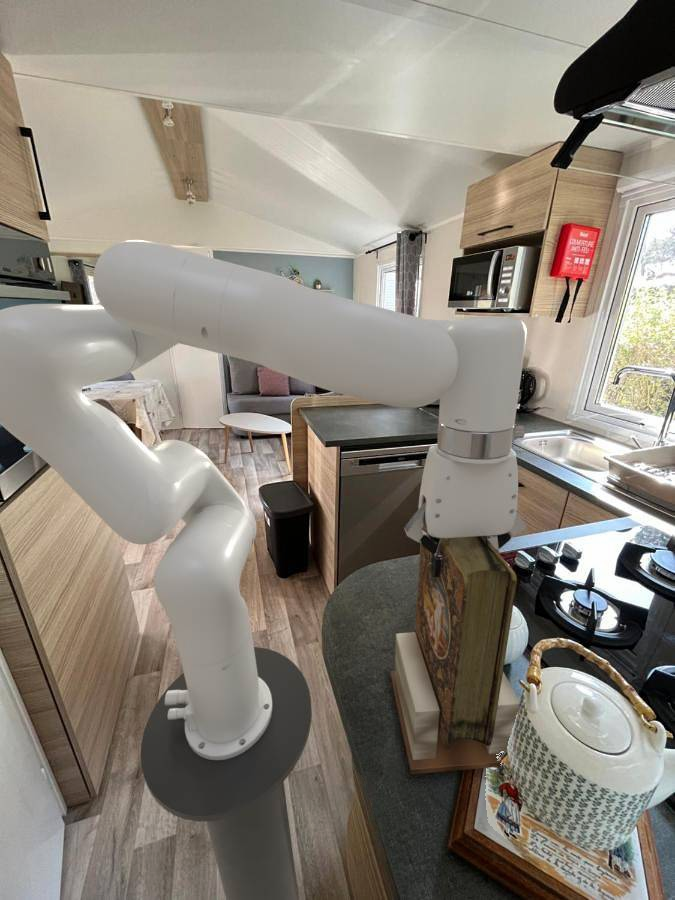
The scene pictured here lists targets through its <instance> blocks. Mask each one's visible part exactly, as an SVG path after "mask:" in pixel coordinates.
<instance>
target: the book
mask: <svg viewBox="0 0 675 900" xmlns="http://www.w3.org/2000/svg"><path fill="white" fill-rule="evenodd" d="M422 530H423V531H426V532H427V525H426V524H425V526H424V527H423V528H422ZM438 539H439V538H438ZM419 544H420V545H419V557H418V559H419V561H418V575H417V589H416V590H417V591H416V606H415V607H416V608H415V623H414V632H415V633H416V636H417V639H418V642H419V645H420V648H421V652H422V655H423V658H424V661H425V664H426V668H427V671H428V674H429V677H430V680H431V684H432V687H433V690H434V693H435V696H436V700H437V703H438V706H439V709H440V713H439V725H438V731H439V734H440V737H441V740H442V743H443V746H444V748H445V749H449V748H450V744H451V743H452V742H453V741H455V740H459V739H470V740H474V741H478V742H480V743H483V744H485V745H486V746H490V745H491V743H492V739H493V733H494V727H495V720H496V714H497V707H498V701H499V694H500V688H501V681H502V675H503V672H504V667H505V662H506V655H507V648H508V643H509V635H510V629H511V623H512V618H513V617H512V616H513V610H514V603H515V598H516V597H515V596H516V591H517V583H518V579H517V574H516V572H515V570H513V568H512V567H511V566H510V565H509V563H508V562H507V561H506V560H505V559H504V557H503V556H502V555H501V554H500V552H499V553H498V552H497V550H496V549H495V548H494V547H493V546H492V544H488V545H487V544H486V539H485V536H473V537H455V538H451V540H450V543H449V546H445V549H444V553H443V557H444V559H442V560H441V570H440V577H433V575H432V573H431V557H432V553H431V552H430V551H428V550H427V549H426V548H425V547H424V546H423V545H422V544H421V543H419ZM443 560H444V564H443Z"/></svg>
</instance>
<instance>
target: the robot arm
mask: <svg viewBox="0 0 675 900" xmlns="http://www.w3.org/2000/svg"><path fill="white" fill-rule="evenodd" d="M92 276H93V288H94V292H95V295H96V298H97V299H98V301H99V302H98V303H95V304H74V303H73V304H70V303H29V304H19V305H14V306H9V307H5V308H2V309H0V425H1V426H2V427H3V428H4V429H5V431H8V432H9V433H10V434H11V435H12V436H14V437H15V438H16V439H17V440H18V441H20V442H21V443H23V444H24V445H25V446H26V447H28V448H29V449H30V450H32V451H33V452H34V453H35V454H37V456H39V457H40V458H41V459H42V460H44V462H46V464H48V465H49V466H50V467H51V468H52V469H53V470H54V471H55V472H56V473H57V474H58V476H59V477H60V478H61V479H62V480H63V481H64V482H65V483H66V484H67V485H68V487H70V488H71V489H72V490H73V492H74V493H75V494H77V495H78V497H80V499H82V500H83V501H84V503H86V505H87V506H88V507H89V508H90V509H91V510H92V511H93V512H94V513H95V514H96V515H97V516H98V517H99V518H100V519H101V520H102V521H103V522H104V523H105V524H106V525H107V526H108V527H109V528H110V529H111V530H112V531H113V532H114V533H115V534H117V535H118V536H119V537H121V538H122V539H124V541H127V542H129V543H131V544H135V545H148V544H152V543H156V542H157V541H158V540H160V539H162V538H163V537H165V536H166V535H167V534H168V533H169V532H170V531H172V530H173V529H174V527H176V525H178V523H179V522H180V521H181V520H182V522H184V523H185V526H184V527H183V528H181V530H180V531H179V533H178V534H177V535H176V536H175V538H174V539H173V540H172V541H171V543H170V544H169V546H168V547H167V548H166V550H165V551H164V552H163V555H162V556H161V558H160V559H159V563H158V565H157V567H156V570H155V574H154V580H153V586H154V590H155V595H156V597H157V600H158V601H159V604H160V605H161V607H162V608H163V611H164V612H165V614H166V616H167V618H168V620H169V623H170V626H171V628H172V632H173V635H174V640H175V643H176V647H177V652H178V655H179V660H180V663H181V667H182V672H183V673H184V676H185V680H186V685H187V689H188V690H169V691H167V693H166V696H165V705H166V706H169V705H179V704H186V705H187V706H186V707H185V708H170V709H169V711H168V720H174V719H180V718H184V720H185V734H186V738H187V741H188V743H189V746H190V747H191V748H192V750H193V751H194V752H195V753H196V754H198V755H199V756H200V757H203V758H206V759H209V760H225V759H229V758H233V757H235V756H237V755H239V754H241V753H243V752H245V751H246V750H248V749H249V748H250V747H252V746H253V745H254V744H255V743H256V742H257V741H258V740H259V739H260V737H261V736H262V735H263V733H264V732H265V730H266V728H267V726H268V724H269V721H270V718H271V714H272V697H271V693H270V690H269V688H268V686H267V685H266V683H265V682H264V681H263V680H262V679H261V678H259V677H258V673H257V666H256V659H255V652H254V647H255V646H254V645H255V644H254V638H253V632H252V625H251V620H250V614H249V613H250V612H249V608H248V605H247V603H246V601H245V599H244V598H243V596H242V594H241V591H240V583H241V578H242V577H241V576H242V573H243V571H244V568H245V566H246V563H247V560H248V558H249V556H250V553H251V551H252V548H253V545H254V543H255V540H256V537H257V531H258V526H257V521H256V517H255V515H254V513H253V511H252V509H251V508H250V507H249V505H248V504H247V503H246V501H245V500H244V499H243V497H242V496H241V495H240V493H238V491H236V489H235V488H234V486H232V484H231V482H230V481H228V479H227V478H226V477H225V475H224V474H223V473H222V472H221V471H220V469H218V467H217V466H216V464H215V463H214V461H212V460H211V459H210V458H209V457H208V456H207V455H206V453H204V452H203V451H202V450H201V449H199V448H198V447H196V446H195V445H192V444H191V443H189V442H186V441H183V440H178V439H165V440H161V441H157V442H155V443H153V444H151V445H149V446H147V445H145V444H144V443H143V442H142V441H141V439H140V438H139V437H138V436H137V435H136V434H135V433H134V432H133V430H131V428H130V427H129V426H128V424H126V422H125V421H124V420H123V419H121V417H119V416H118V415H117V414H116V413H115V412H113V411H111V410H110V409H108V408H107V407H105V406H103V405H101V404H100V403H98V402H97V401H95V400H92V399H90V398H89V397H88V396H86V395H85V394H84V392H83V389H84V387H86V386H90V385H94V384H100V383H102V382H105V381H109V380H112V379H116V378H120V377H123V376H125V375H128V374H130V373H132V372H134V371H137V370H138V369H139V368H141V367H143V366H145V365H146V364H148V363H150V362H151V361H152V360H154V359H156V358H157V357H159V356H161V355H162V354H164V353H165V352H167V351H169V350H170V349H172V348H173V347H175V346H176V345H179V344H181V345H184V346H187V347H188V346H189V347H193V348H197V349H200V350H204V351H209V352H213V353H217V354H220V355H224V356H228V357H231V358H236V359H240V360H243V361H247V362H250V363H255V364H257V365H260V366H262V367H265V368H267V369H268V370H270V371H273V372H275V373H280V374H281V375H285V376H287V377H290V378H293V379H295V380H298V381H301V382H303V383H305V384H308V385H311V386H314V387H317V388H320V389H324V390H327V391H329V392H332V393H337V394H341V395H343V396H347V397H352V398H356V399H360V400H364V401H367V402H372V403H376V404H380V405H384V406H389V407H393V408H399V409H400V408H401V409H417V408H421V407H426V406H428V405H430V404H433V403H435V402H437V401H438V400H439V411H438V425H437V426H438V427H437V441H436V445H431V446H430V447H429V448H428V452H427V454H426V458H425V462H424V466H423V470H422V471H423V472H422V477H421V483H420V488H419V497H418V506H417V507H418V508H417V511H416V512H415V513H414V514H413V516H412V517H411V518H410V519H409V521H408V522H407V523H406V524H405V526H404V527H403V530H404V532H405V535H406V537H408V538H409V539H411V540H413V541H415V542H416V543H419V544H420V543H421V544H422V545H423V546H424V547H425V548H426V549H427V550H428V551H430V552H431V553H432V557H431V573H432V575H433V577H440V570H441V560H442V559H444V557H443V553H444V549H445V546H449V543H450V540H451V538H455V537H473V536H485V539H486V544H487V545H488V544H492V546H493V547H494V548H495V549H496V550H497V552H498V553H499V554H500V549H501V548H503V547H504V546H505V545H506V544H507V543H508V542H510V541H511V539H512V537H513V538H514V537H516V536H517V535H519V534H520V533H522V532H524V531H525V530H526V529H527V525H526V523H525V521H524V520H523V518H522V517H521V515H520V514H519V512H518V511H517V510H518V501H519V499H518V497H519V469H518V461H517V454H516V451H515V450H514V449H513V447H514V442H515V441H516V440H517V439H523V438H524V437H525V435H526V431H525V428H524V425H523V426H522V425H517V424H515V423H516V416H517V415H516V414H517V410H518V409H517V408H518V400H519V393H520V387H521V381H522V380H521V379H522V372H523V366H524V359H525V350H526V342H527V327H526V324H525V323H524V321H522V319H520V318H517V317H515V316H470V317H469V316H468V317H467V316H466V317H459V318H457V319H454V320H445V319H443V320H442V319H427V318H423V317H420V316H415V315H411V314H407V313H403V312H399V311H395V310H391V309H388V308H385V307H380V306H376V305H373V304H369V303H366V302H361V301H357V300H354V299H350V298H346V297H343V296H339V295H335V294H332V293H328V292H325V291H321V290H317V289H315V288H311V287H309V286H306V285H303V284H301V283H298V282H297V281H294V280H292V279H290V278H289V277H286V276H283V275H278V274H275V273H272V272H269V271H264V270H260V269H256V268H252V267H249V266H245V265H240V264H237V263H234V262H230V261H226V260H222V259H218V258H214V257H211V256H207V255H203V254H199V253H196V252H192V251H188V250H185V249H181V248H177V247H173V246H170V245H166V244H162V243H158V242H154V241H150V240H143V239H130V240H128V239H127V240H123V241H120V242H116V243H114V244H113V245H110V246H109V247H107V248H106V249H105V250H104V251H103V252H102V253H101V254H100V255H99V257H98V259H97V261H96V263H95V266H94V269H93V275H92ZM425 524H426V525H427V532H426V531H423V530H422V528H423V527H424V526H425ZM438 538H439V539H438ZM443 564H444V560H443Z"/></svg>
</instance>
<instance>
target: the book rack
mask: <svg viewBox="0 0 675 900" xmlns="http://www.w3.org/2000/svg"><path fill="white" fill-rule="evenodd" d="M394 655H395V656H394V670H393V671H390V673H389V674H390V676H389V677H390V681H391V687H392V691H393V696H394V700H395V705H396V710H397V715H398V720H399V724H400V725H399V726H400V730H401V734H402V740H403V744H404V748H405V749H404V750H405V754H406V758H407V763H408V768H409V773H410V775H419V774H433V773H443V772H453V771H454V772H455V771H456V772H457V771H467V770H478V769H479V770H480V769H489V768H491V769H492V768H500V767H501V766H500V765H501V764H500V763H501V761H497V760H498V759H499V758H498V759H497V758H496V757H497V756H499V755H500V754H501V755H502V753H500V752H501V751H506V750H507V746H508V741H509V738H510V735H511V731H512V728H513V726H514V723H515V719H516V715H517V712H518V707H519V703H520V701H519V699H518V697H517V695H516V693H515V691H514V689H513V687H512V686H511V684H510V682H509V679H508V678H507V675H506V674H505V672H504V671H503V675H502V681H501V688H500V694H499V701H498V707H497V714H496V720H495V727H494V733H493V739H492V743H491V745H490V746H486V745H485V744H483V743H480V742H478V741H474V740H470V739H459V740H455V741H453V742H452V743H451V744H450V748H449V749H445V748H444V746H443V743H442V740H441V737H440V734H439V731H438V725H439V713H440V709H439V706H438V703H437V700H436V696H435V693H434V690H433V687H432V684H431V680H430V677H429V674H428V671H427V668H426V664H425V661H424V658H423V655H422V652H421V648H420V645H419V642H418V639H417V636H416V633H415V631H414V632H413V631H411V632H399V633H395V654H394ZM519 708H520V707H519ZM518 713H519V712H518ZM499 753H500V754H499ZM496 754H499V755H496ZM501 755H500V756H499V757H501ZM501 758H502V757H501ZM501 768H502V767H501Z"/></svg>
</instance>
